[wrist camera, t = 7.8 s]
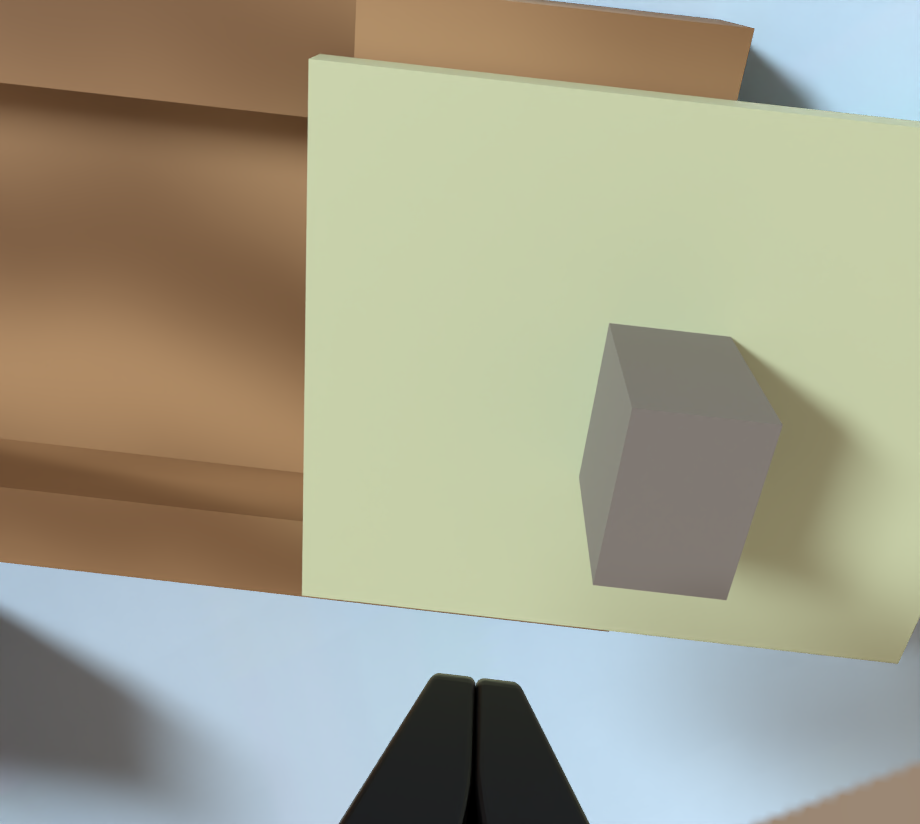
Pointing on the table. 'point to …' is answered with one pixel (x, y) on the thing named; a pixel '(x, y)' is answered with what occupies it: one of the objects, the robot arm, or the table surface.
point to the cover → (612, 359)
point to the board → (212, 251)
